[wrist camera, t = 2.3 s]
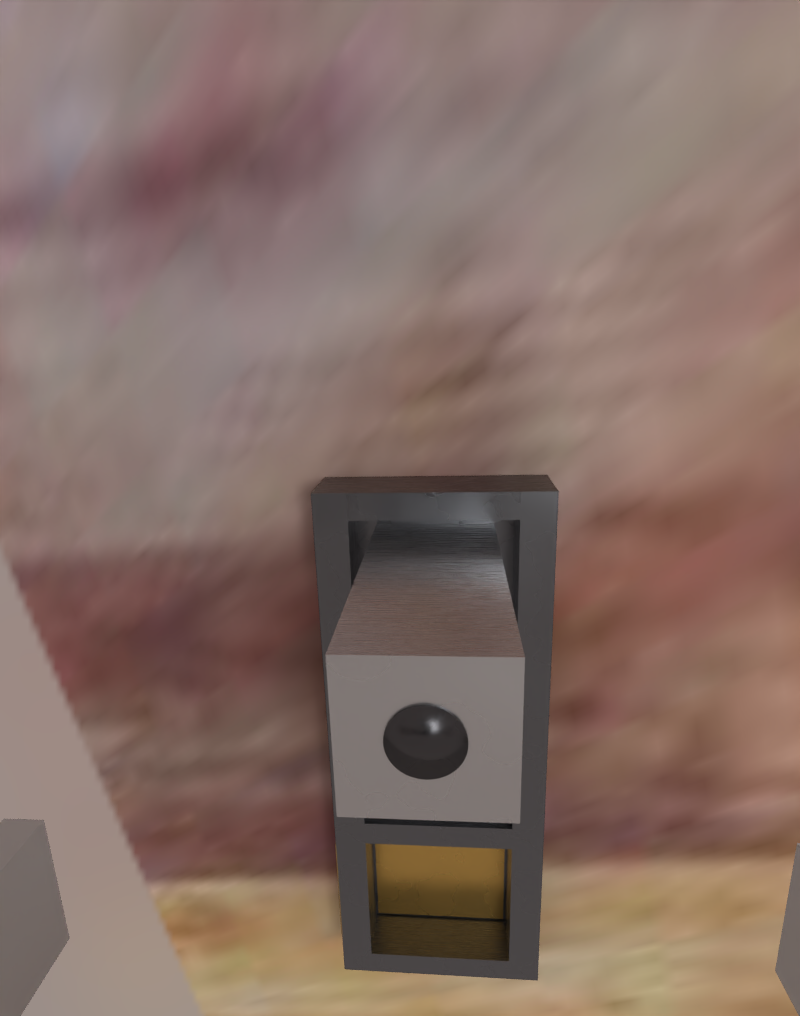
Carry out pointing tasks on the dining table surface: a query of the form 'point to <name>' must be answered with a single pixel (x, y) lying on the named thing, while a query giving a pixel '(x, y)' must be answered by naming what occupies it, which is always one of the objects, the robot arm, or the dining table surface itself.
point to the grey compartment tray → (447, 844)
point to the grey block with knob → (428, 680)
